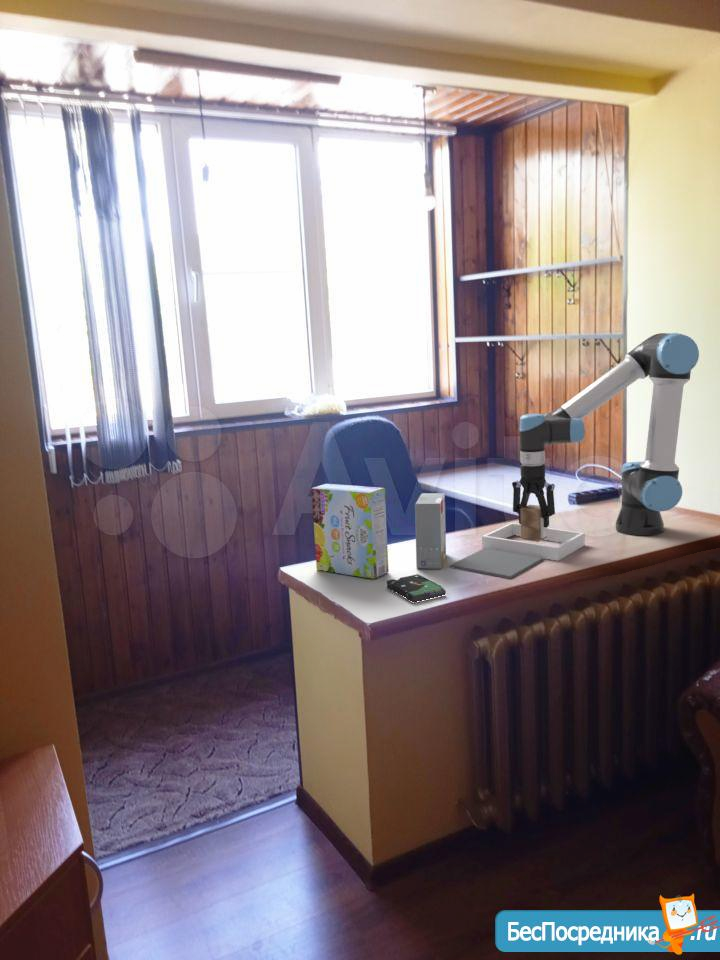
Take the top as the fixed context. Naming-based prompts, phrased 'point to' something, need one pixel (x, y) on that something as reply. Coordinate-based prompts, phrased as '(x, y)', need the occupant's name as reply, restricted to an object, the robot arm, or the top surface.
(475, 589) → the top surface
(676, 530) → the top surface
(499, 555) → the mat
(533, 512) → the walnut block
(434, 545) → the hard drive box
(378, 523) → the snack box
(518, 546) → the bin
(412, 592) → the disk drive
